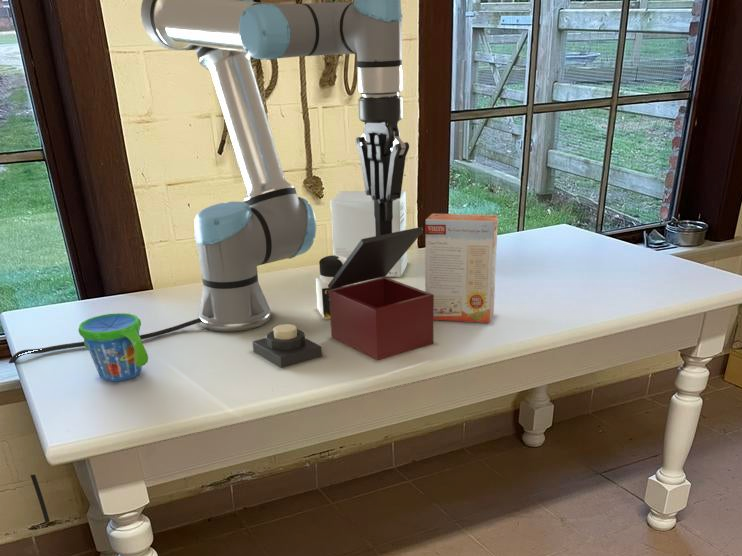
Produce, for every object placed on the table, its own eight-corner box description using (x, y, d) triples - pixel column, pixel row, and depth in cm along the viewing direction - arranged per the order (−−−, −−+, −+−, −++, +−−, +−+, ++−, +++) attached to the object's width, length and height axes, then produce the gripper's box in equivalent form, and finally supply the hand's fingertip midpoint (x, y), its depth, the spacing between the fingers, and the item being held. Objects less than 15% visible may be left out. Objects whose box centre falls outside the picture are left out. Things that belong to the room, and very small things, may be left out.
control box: (322, 357, 152) (320, 337, 150) (281, 368, 147) (279, 348, 145) (292, 341, 159) (291, 322, 157) (253, 351, 155) (251, 332, 153)
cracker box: (494, 315, 170) (499, 213, 158) (489, 324, 165) (494, 220, 154) (430, 311, 173) (431, 211, 162) (424, 320, 168) (424, 218, 157)
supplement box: (408, 263, 206) (407, 189, 196) (401, 277, 194) (400, 200, 185) (343, 262, 208) (339, 189, 198) (333, 276, 197) (328, 200, 187)
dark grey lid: (423, 230, 147) (421, 226, 147) (363, 243, 140) (361, 239, 140) (385, 276, 161) (383, 272, 161) (329, 289, 155) (327, 285, 155)
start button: (301, 337, 151) (300, 328, 150) (281, 342, 149) (280, 333, 148) (289, 331, 154) (288, 322, 153) (270, 336, 152) (269, 327, 151)
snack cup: (73, 373, 148) (60, 320, 142) (123, 356, 154) (112, 305, 149) (118, 395, 139) (105, 340, 133) (168, 377, 145) (158, 323, 140)
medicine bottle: (323, 319, 170) (320, 263, 163) (317, 309, 176) (313, 255, 169) (355, 316, 171) (353, 260, 165) (348, 306, 177) (345, 251, 171)
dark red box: (433, 343, 156) (433, 294, 151) (377, 360, 149) (375, 309, 144) (386, 323, 167) (384, 276, 162) (331, 338, 160) (328, 290, 155)
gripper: (421, 95, 131) (421, 241, 144) (375, 91, 140) (379, 228, 152) (385, 99, 127) (388, 248, 140) (340, 94, 136) (347, 235, 149)
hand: (384, 238), depth 146 cm, fingers closed
